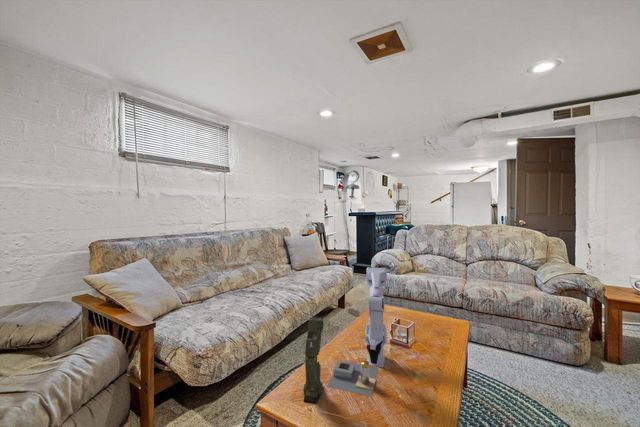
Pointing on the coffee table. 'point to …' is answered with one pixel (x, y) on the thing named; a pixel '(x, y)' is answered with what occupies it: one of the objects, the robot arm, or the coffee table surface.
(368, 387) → the cork pad
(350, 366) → the block
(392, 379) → the coffee table surface
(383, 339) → the robot arm
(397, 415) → the coffee table surface
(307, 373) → the mechanical leg
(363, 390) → the mat
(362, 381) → the gold capped metal cylinder
